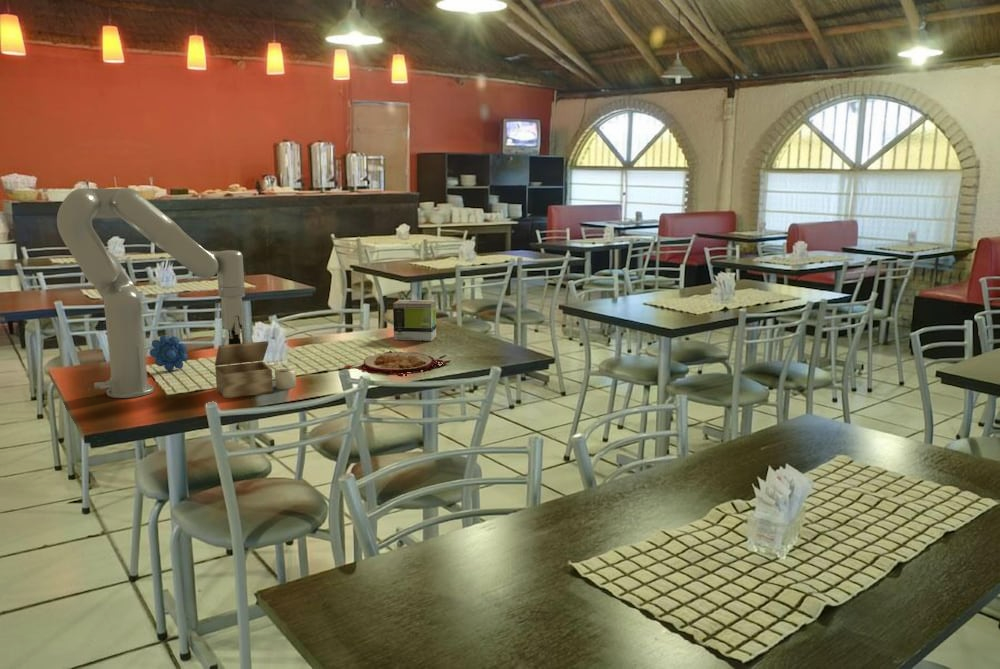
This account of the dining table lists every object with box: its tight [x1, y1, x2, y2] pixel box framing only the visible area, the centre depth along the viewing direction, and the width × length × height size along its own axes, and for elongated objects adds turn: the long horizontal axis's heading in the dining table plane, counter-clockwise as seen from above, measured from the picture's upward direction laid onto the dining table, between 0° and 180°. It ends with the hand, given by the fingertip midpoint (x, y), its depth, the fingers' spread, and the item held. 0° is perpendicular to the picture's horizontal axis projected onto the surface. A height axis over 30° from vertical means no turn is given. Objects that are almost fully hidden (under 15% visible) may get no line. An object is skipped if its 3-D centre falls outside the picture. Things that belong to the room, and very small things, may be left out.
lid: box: [214, 340, 269, 367], centre depth 242 cm, size 14×11×1 cm
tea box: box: [392, 299, 437, 342], centre depth 317 cm, size 15×10×15 cm
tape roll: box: [274, 367, 297, 390], centre depth 247 cm, size 6×6×5 cm
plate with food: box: [343, 350, 451, 376], centre depth 274 cm, size 25×26×4 cm
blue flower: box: [149, 334, 189, 372], centre depth 264 cm, size 12×7×12 cm, turn 123°
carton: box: [214, 361, 274, 399], centre depth 242 cm, size 14×11×7 cm
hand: (235, 350), depth 250 cm, fingers closed
